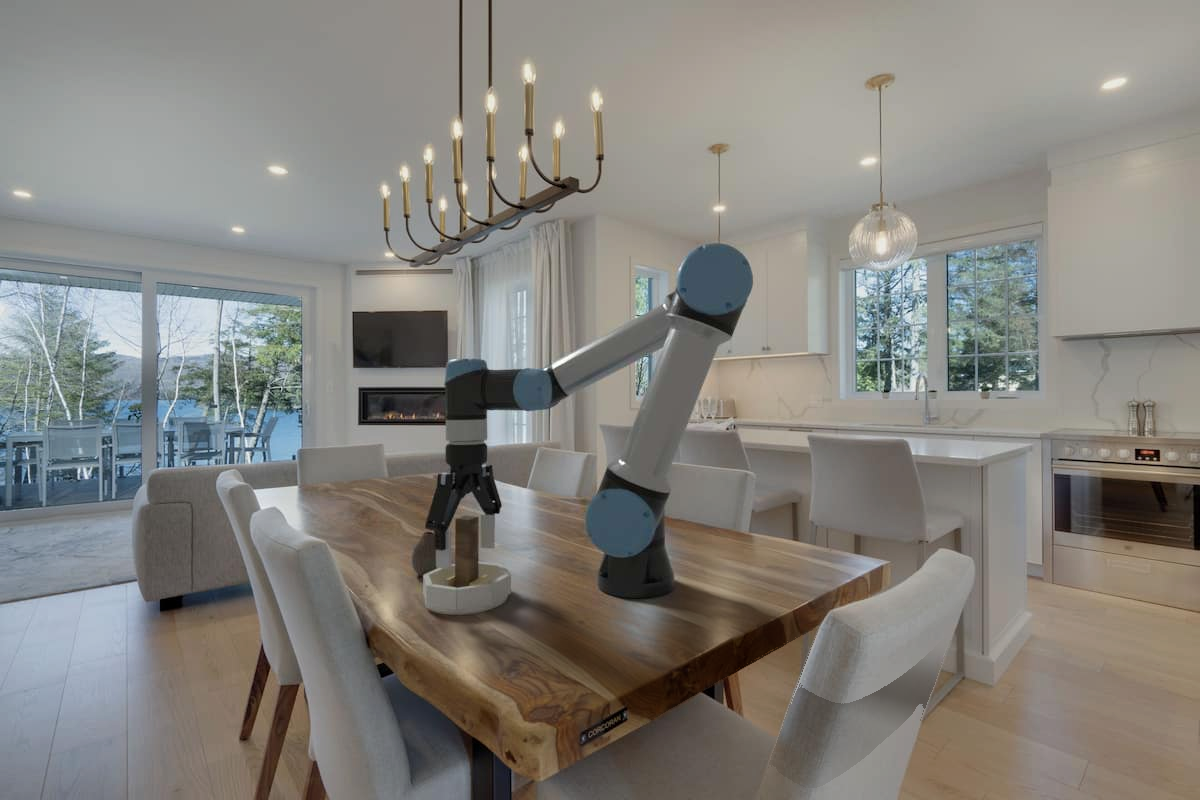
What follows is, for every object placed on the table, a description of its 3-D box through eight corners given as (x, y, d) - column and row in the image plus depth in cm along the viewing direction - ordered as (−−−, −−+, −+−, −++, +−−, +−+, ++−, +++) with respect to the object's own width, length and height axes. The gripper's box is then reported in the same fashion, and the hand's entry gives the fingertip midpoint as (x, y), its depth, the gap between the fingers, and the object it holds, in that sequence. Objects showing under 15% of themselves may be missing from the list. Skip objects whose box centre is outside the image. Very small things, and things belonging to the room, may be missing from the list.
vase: (436, 580, 110) (435, 537, 110) (405, 578, 111) (405, 536, 111) (451, 570, 116) (451, 529, 116) (422, 568, 118) (422, 528, 118)
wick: (464, 589, 102) (465, 515, 102) (478, 591, 100) (478, 516, 101) (455, 594, 99) (455, 518, 99) (468, 596, 98) (469, 519, 98)
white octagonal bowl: (522, 590, 104) (522, 567, 104) (478, 620, 90) (478, 593, 90) (458, 581, 109) (458, 559, 109) (406, 607, 95) (406, 582, 95)
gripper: (487, 437, 113) (487, 538, 113) (402, 447, 89) (403, 575, 89) (518, 438, 110) (518, 542, 110) (439, 448, 87) (440, 580, 87)
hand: (467, 557), depth 100 cm, fingers open, 13 cm apart
